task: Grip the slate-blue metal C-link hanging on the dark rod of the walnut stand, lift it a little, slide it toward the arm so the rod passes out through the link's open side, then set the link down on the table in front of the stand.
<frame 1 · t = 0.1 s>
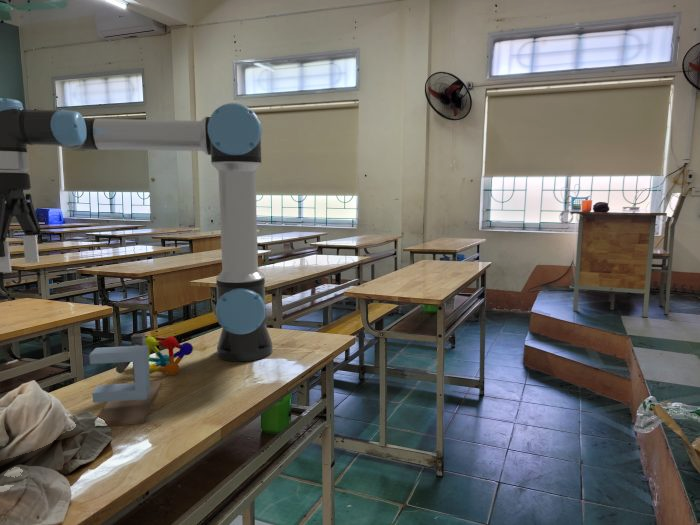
hand: (18, 267, 112), 28 cm above the table, fingers open, 13 cm apart
molecular model: (159, 371, 124), on the table
stand: (131, 404, 105), on the table
c link: (122, 396, 100), point 4 cm above the table, touching stand
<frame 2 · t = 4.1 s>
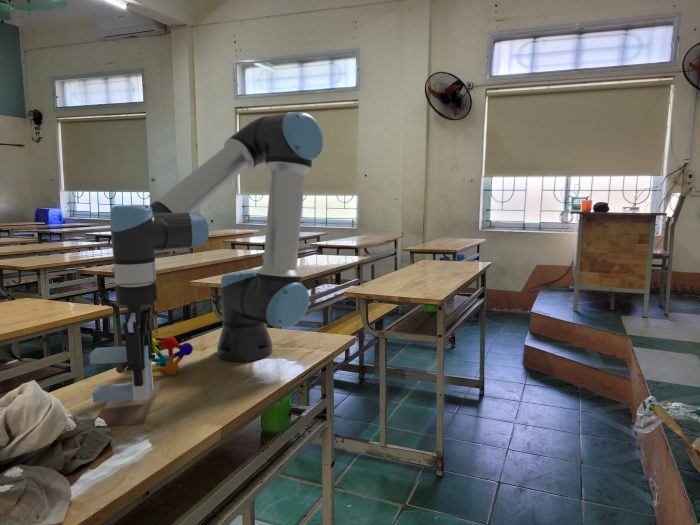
hand: (143, 394, 101), 4 cm above the table, fingers closed on c link, 4 cm apart
c link: (122, 396, 100), point 4 cm above the table, touching gripper, stand
everything else where it was.
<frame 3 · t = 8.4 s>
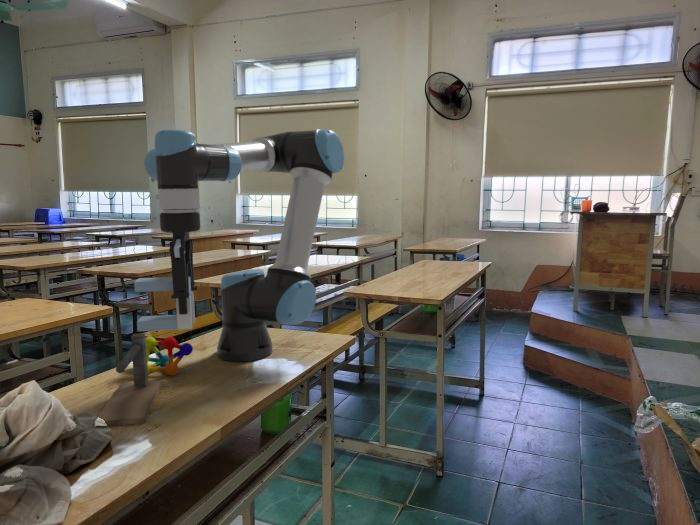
hand: (186, 325, 101), 18 cm above the table, fingers closed on c link, 4 cm apart
c link: (166, 327, 100), point 18 cm above the table, touching gripper
everything else where it was.
when the fingers open (1 cm above the table, at t = 12.8 s): c link drops 1 cm, on the table.
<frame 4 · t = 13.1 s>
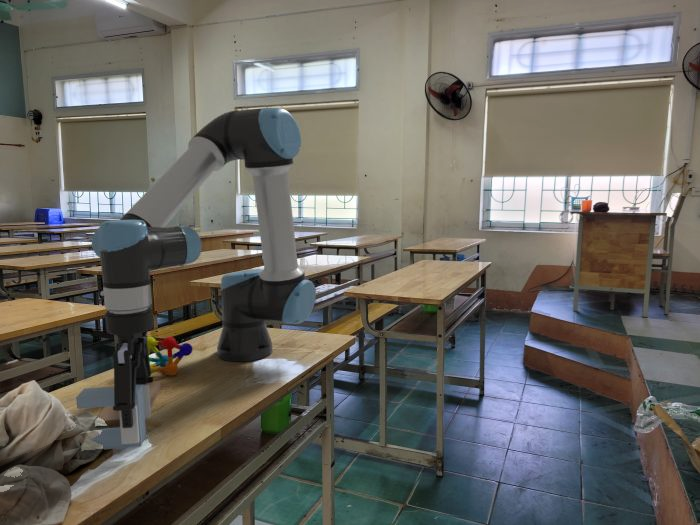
hand: (137, 429, 89), 2 cm above the table, fingers open, 9 cm apart
c link: (114, 443, 89), on the table
everything else where it was.
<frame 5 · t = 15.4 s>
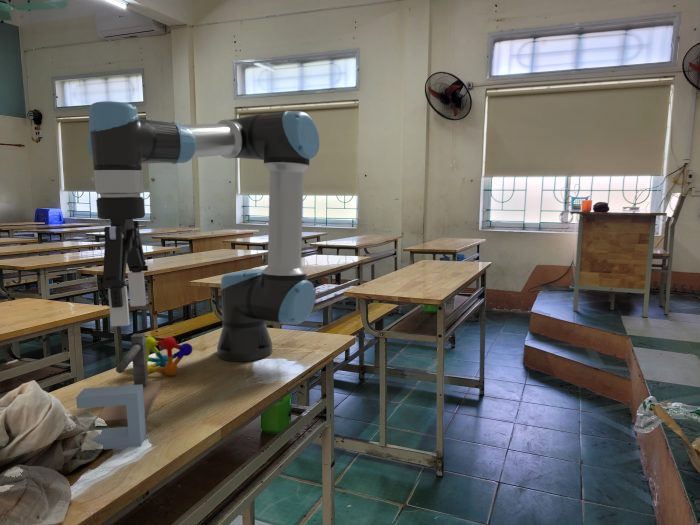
hand: (130, 314, 88), 23 cm above the table, fingers open, 13 cm apart
nothing on the table moved.
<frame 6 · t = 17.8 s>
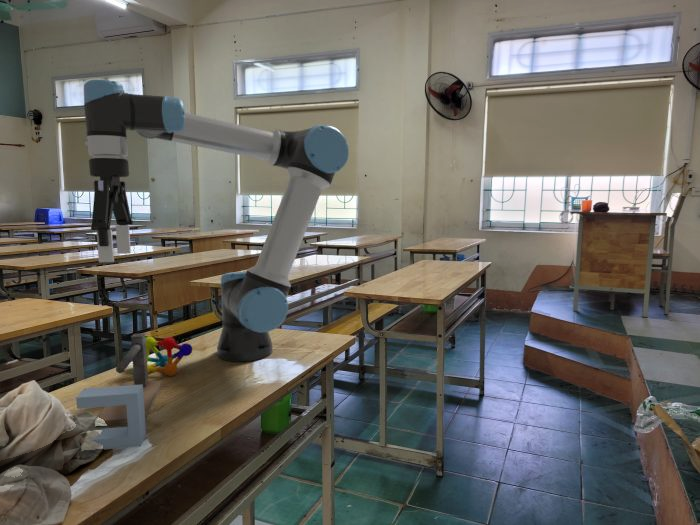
hand: (116, 257, 107), 31 cm above the table, fingers open, 13 cm apart
nothing on the table moved.
at the end: c link inside the target area (0.0 cm from its centre), on the table; c link touching table; the gripper is holding nothing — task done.
